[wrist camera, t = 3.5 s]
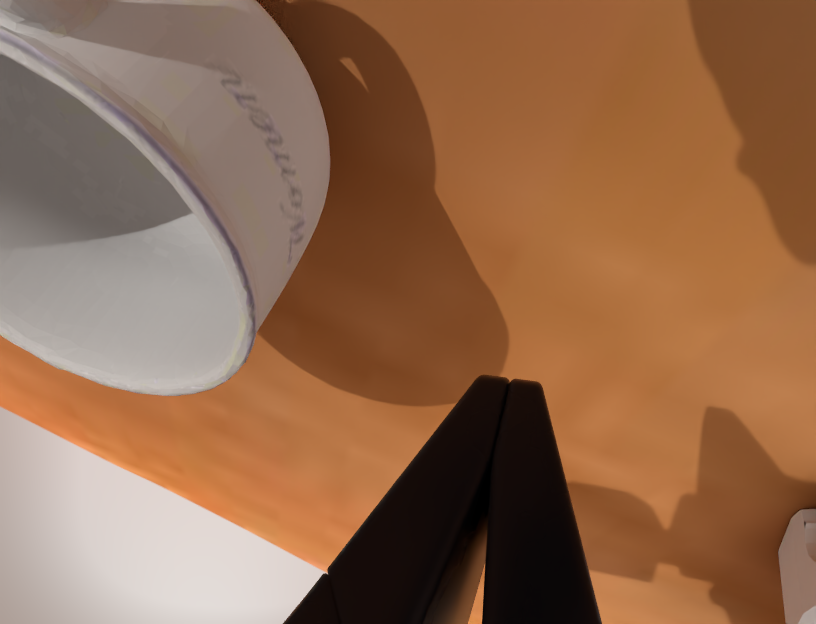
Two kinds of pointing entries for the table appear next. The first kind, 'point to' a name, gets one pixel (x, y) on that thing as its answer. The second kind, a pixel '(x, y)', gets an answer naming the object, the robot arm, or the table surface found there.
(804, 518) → the ashtray
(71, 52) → the teacup
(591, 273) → the table surface
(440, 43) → the table surface
